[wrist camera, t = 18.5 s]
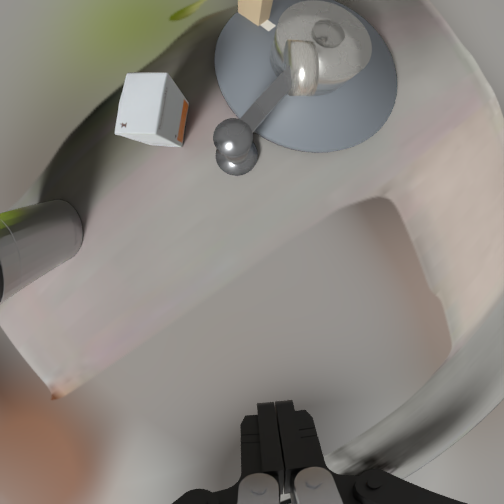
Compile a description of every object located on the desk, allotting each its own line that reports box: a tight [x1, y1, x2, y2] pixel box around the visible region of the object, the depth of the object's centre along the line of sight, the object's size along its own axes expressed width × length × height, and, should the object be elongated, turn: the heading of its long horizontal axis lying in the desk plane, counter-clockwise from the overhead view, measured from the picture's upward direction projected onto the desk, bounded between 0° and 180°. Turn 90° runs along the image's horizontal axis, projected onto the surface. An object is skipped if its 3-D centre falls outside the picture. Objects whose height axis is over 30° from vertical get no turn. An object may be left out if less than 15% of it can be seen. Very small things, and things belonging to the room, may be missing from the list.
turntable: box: [214, 0, 397, 153], centre depth 26 cm, size 24×24×9 cm
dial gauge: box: [213, 40, 319, 176], centre depth 24 cm, size 8×10×18 cm
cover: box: [270, 0, 372, 96], centre depth 24 cm, size 10×10×8 cm
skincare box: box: [115, 72, 189, 147], centre depth 26 cm, size 6×4×12 cm
